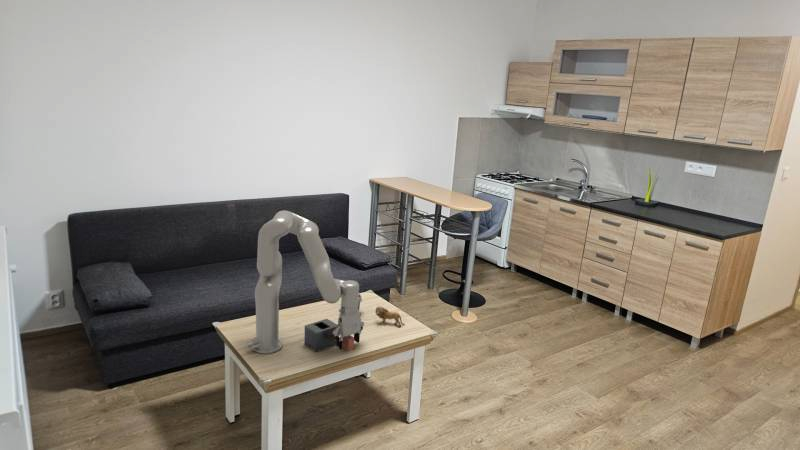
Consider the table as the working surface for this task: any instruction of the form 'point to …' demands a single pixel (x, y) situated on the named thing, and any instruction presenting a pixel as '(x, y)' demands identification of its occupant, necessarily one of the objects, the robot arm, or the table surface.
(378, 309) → the lion figurine
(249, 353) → the table surface
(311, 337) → the box
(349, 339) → the block
